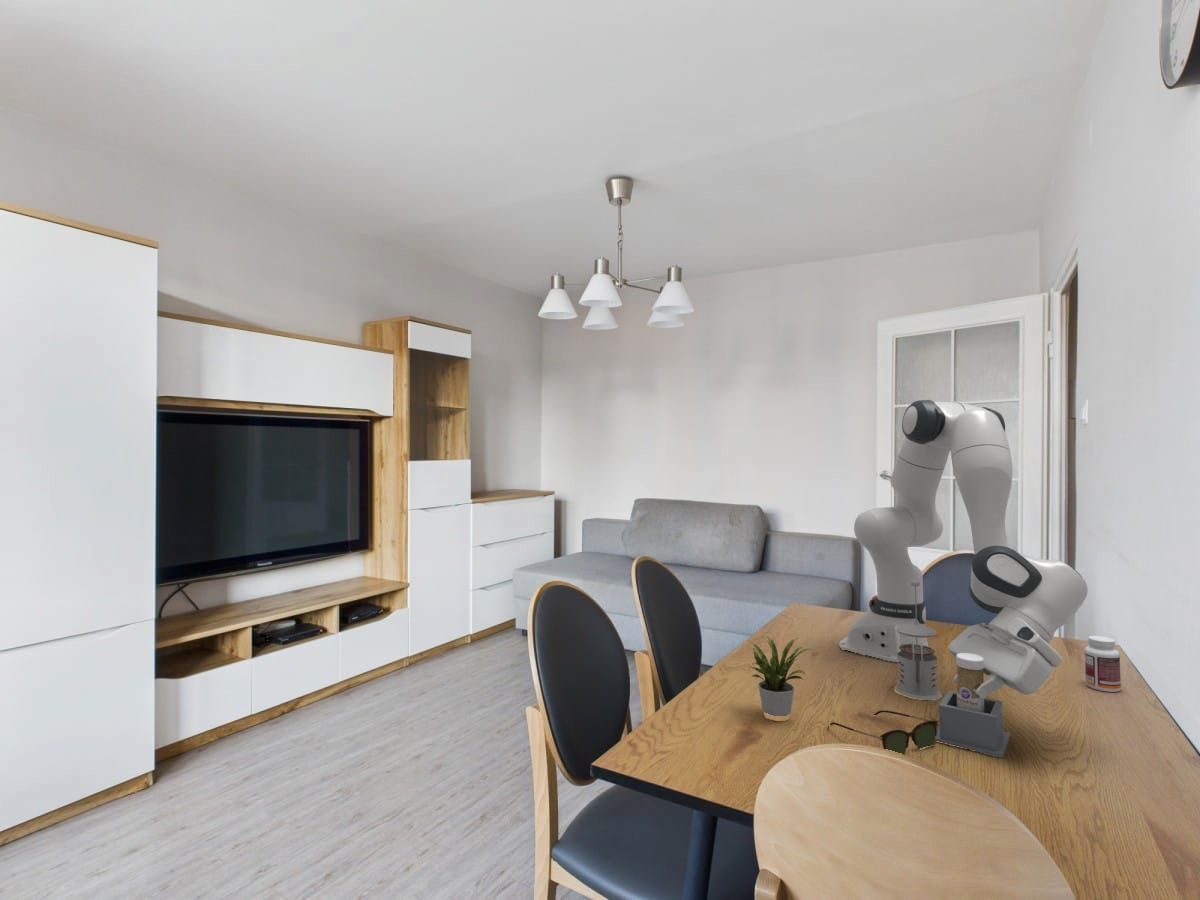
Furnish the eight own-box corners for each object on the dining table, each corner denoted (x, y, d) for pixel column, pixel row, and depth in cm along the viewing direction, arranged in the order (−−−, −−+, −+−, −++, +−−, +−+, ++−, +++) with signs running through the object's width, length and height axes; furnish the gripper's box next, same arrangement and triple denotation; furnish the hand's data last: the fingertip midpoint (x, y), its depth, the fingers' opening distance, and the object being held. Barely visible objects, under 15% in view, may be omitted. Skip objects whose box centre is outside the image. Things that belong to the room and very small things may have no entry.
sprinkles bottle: (954, 729, 117) (953, 656, 117) (959, 720, 120) (958, 650, 121) (983, 735, 114) (981, 661, 114) (987, 727, 117) (986, 655, 118)
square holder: (932, 741, 116) (931, 705, 116) (944, 721, 125) (943, 687, 125) (1002, 758, 109) (1002, 720, 109) (1010, 736, 118) (1009, 700, 118)
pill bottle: (1125, 689, 140) (1124, 639, 140) (1114, 695, 137) (1113, 644, 137) (1091, 680, 145) (1090, 633, 145) (1080, 686, 142) (1079, 637, 142)
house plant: (819, 707, 133) (818, 629, 133) (820, 734, 120) (818, 648, 120) (750, 699, 137) (749, 624, 138) (743, 725, 124) (742, 642, 125)
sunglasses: (883, 764, 109) (880, 734, 109) (821, 736, 123) (819, 710, 123) (940, 747, 115) (938, 719, 115) (876, 722, 128) (873, 697, 129)
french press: (941, 688, 142) (938, 577, 143) (945, 706, 132) (942, 587, 132) (893, 682, 147) (891, 574, 147) (893, 699, 136) (891, 584, 136)
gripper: (969, 609, 128) (923, 659, 127) (1045, 639, 108) (992, 698, 107) (990, 631, 128) (945, 680, 128) (1071, 664, 108) (1017, 723, 107)
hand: (967, 689), depth 117 cm, fingers closed on sprinkles bottle, 4 cm apart
